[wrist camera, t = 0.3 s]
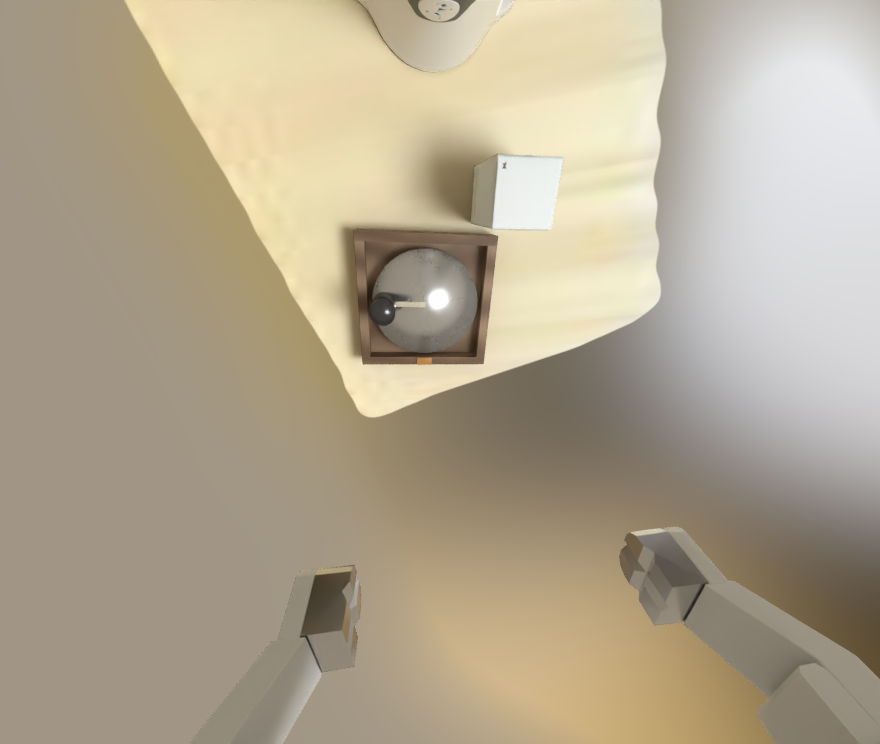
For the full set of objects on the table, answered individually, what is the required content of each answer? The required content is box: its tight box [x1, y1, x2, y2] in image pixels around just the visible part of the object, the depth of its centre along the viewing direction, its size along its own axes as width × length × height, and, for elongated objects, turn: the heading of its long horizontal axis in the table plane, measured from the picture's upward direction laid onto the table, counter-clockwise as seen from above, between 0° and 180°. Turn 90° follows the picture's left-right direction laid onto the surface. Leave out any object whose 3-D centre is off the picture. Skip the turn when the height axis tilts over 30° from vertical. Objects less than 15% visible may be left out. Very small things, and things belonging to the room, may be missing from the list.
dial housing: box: [353, 229, 498, 364], centre depth 51 cm, size 20×20×3 cm
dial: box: [369, 247, 477, 353], centre depth 48 cm, size 16×16×7 cm
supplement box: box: [471, 154, 564, 230], centre depth 41 cm, size 7×7×13 cm
